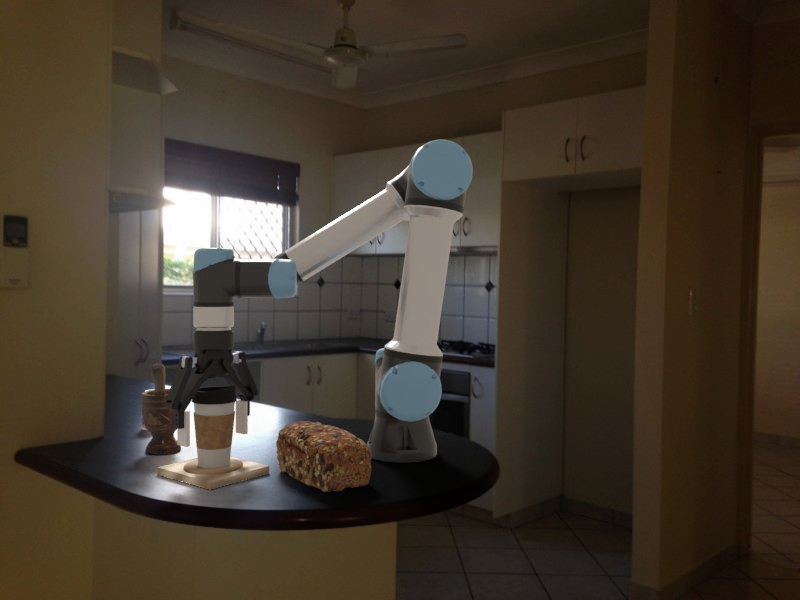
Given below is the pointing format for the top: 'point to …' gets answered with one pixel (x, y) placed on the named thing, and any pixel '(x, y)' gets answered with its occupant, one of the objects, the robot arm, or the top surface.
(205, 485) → the board
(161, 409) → the mortar and pestle
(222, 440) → the coffee cup
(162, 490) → the top surface
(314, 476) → the bread
